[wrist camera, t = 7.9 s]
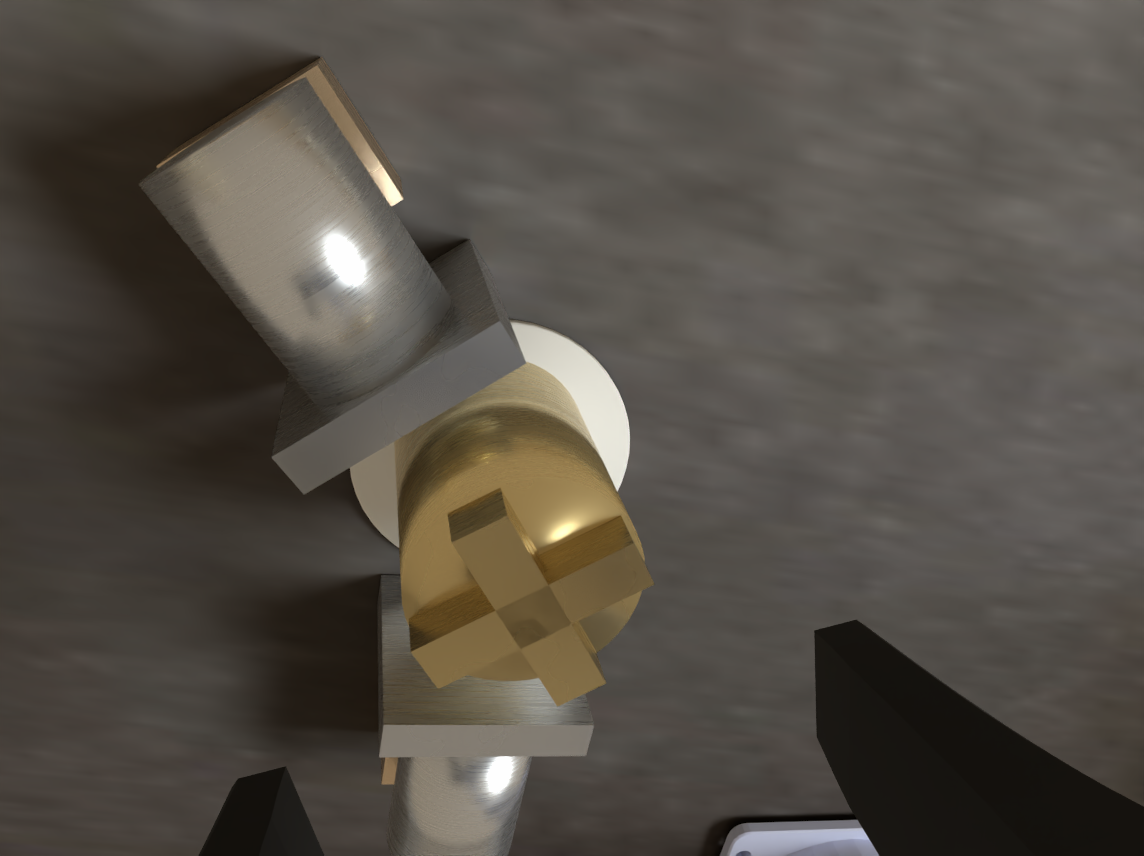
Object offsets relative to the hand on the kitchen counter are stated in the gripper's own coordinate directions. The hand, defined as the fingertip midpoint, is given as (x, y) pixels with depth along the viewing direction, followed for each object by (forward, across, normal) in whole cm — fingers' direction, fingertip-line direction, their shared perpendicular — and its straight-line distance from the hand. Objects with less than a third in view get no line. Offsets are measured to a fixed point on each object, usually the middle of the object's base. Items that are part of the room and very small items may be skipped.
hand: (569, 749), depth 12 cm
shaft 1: (+8, +2, -6) cm, 10 cm away
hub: (+8, 0, 0) cm, 8 cm away
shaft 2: (+8, +2, +5) cm, 10 cm away
